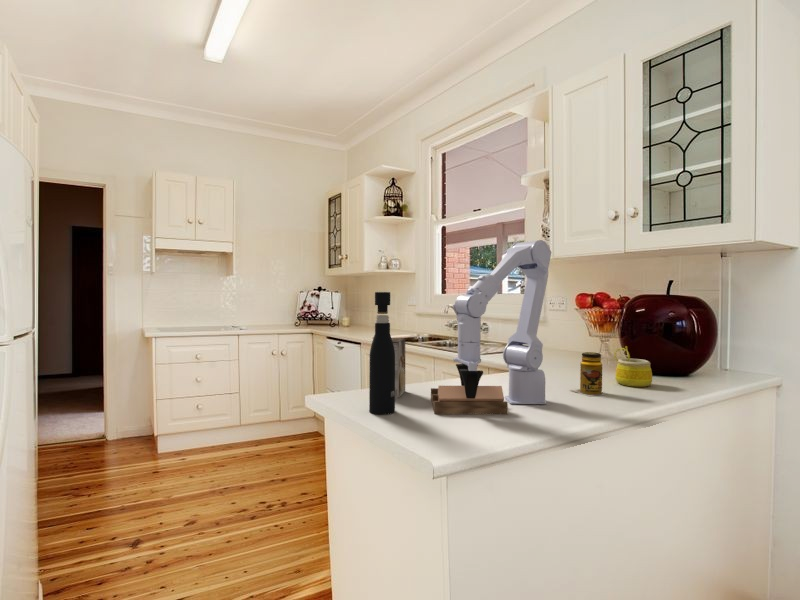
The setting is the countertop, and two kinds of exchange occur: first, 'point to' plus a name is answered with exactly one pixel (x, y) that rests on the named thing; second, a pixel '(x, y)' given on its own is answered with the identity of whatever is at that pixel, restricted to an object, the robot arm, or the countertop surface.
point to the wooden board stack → (467, 406)
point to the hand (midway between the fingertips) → (468, 394)
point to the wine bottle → (382, 362)
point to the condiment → (591, 375)
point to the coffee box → (399, 366)
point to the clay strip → (459, 395)
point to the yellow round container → (632, 371)
